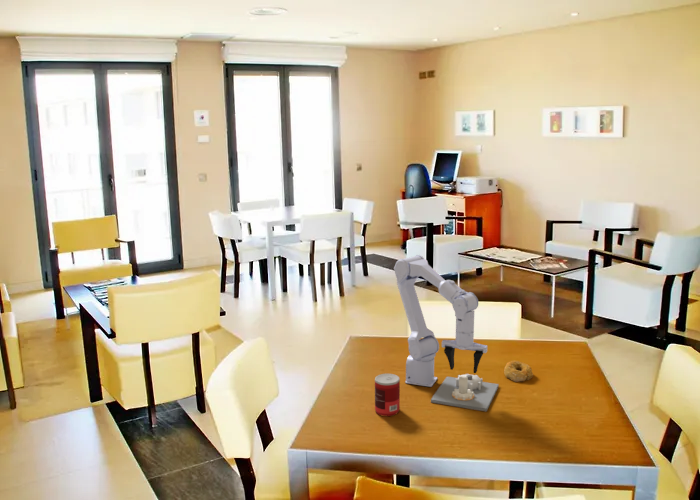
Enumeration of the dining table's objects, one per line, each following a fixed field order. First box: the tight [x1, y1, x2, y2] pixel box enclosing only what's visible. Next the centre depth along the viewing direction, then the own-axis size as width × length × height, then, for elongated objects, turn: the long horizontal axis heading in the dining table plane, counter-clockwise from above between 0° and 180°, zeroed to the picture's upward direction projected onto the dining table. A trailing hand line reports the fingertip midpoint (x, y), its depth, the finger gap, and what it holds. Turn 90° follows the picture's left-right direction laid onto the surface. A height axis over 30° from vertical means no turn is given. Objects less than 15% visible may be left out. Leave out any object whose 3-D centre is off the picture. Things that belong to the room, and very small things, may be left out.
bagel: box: [503, 360, 534, 383], centre depth 228 cm, size 10×11×5 cm
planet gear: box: [452, 376, 474, 400], centre depth 210 cm, size 6×6×6 cm
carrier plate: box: [430, 373, 500, 412], centre depth 214 cm, size 18×20×4 cm
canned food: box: [374, 373, 401, 417], centre depth 202 cm, size 8×8×11 cm
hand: (463, 370), depth 210 cm, fingers open, 7 cm apart
